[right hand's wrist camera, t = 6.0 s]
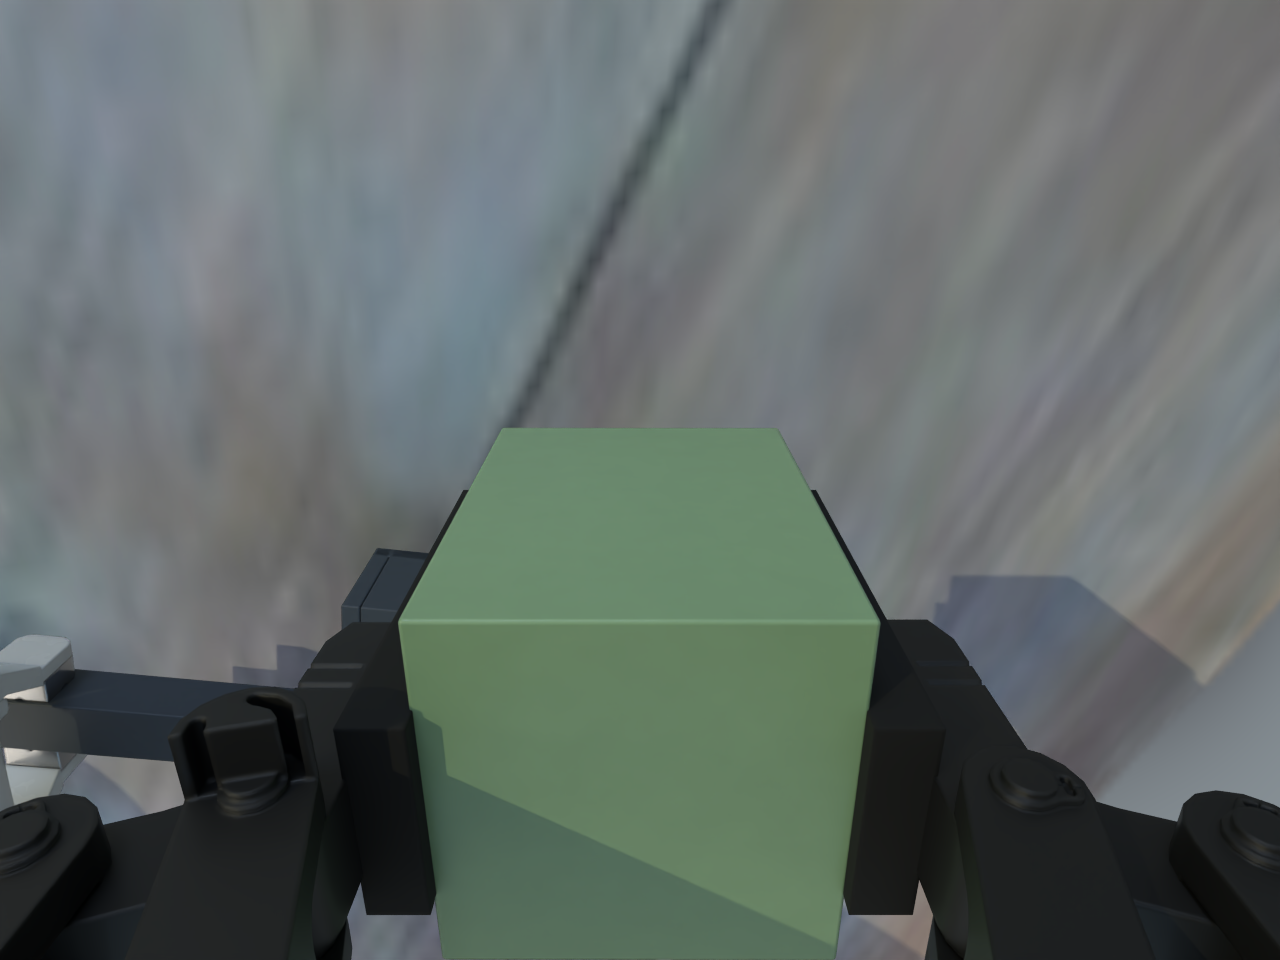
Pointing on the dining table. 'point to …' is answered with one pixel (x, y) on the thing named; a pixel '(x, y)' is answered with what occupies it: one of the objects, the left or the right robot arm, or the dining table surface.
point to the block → (639, 701)
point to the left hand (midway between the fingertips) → (60, 692)
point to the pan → (171, 685)
